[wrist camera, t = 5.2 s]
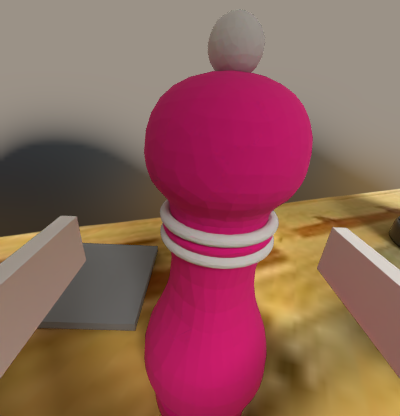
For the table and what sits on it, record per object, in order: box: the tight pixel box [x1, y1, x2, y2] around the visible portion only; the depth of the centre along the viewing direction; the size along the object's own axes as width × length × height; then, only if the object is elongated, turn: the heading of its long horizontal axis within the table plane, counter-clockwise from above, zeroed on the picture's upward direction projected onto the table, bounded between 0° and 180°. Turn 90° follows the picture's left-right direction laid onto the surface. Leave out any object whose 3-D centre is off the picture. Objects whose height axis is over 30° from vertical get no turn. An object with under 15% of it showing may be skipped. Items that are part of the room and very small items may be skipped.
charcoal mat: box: [37, 243, 158, 331], centre depth 22 cm, size 13×11×1 cm
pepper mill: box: [144, 10, 313, 416], centre depth 11 cm, size 7×7×20 cm
